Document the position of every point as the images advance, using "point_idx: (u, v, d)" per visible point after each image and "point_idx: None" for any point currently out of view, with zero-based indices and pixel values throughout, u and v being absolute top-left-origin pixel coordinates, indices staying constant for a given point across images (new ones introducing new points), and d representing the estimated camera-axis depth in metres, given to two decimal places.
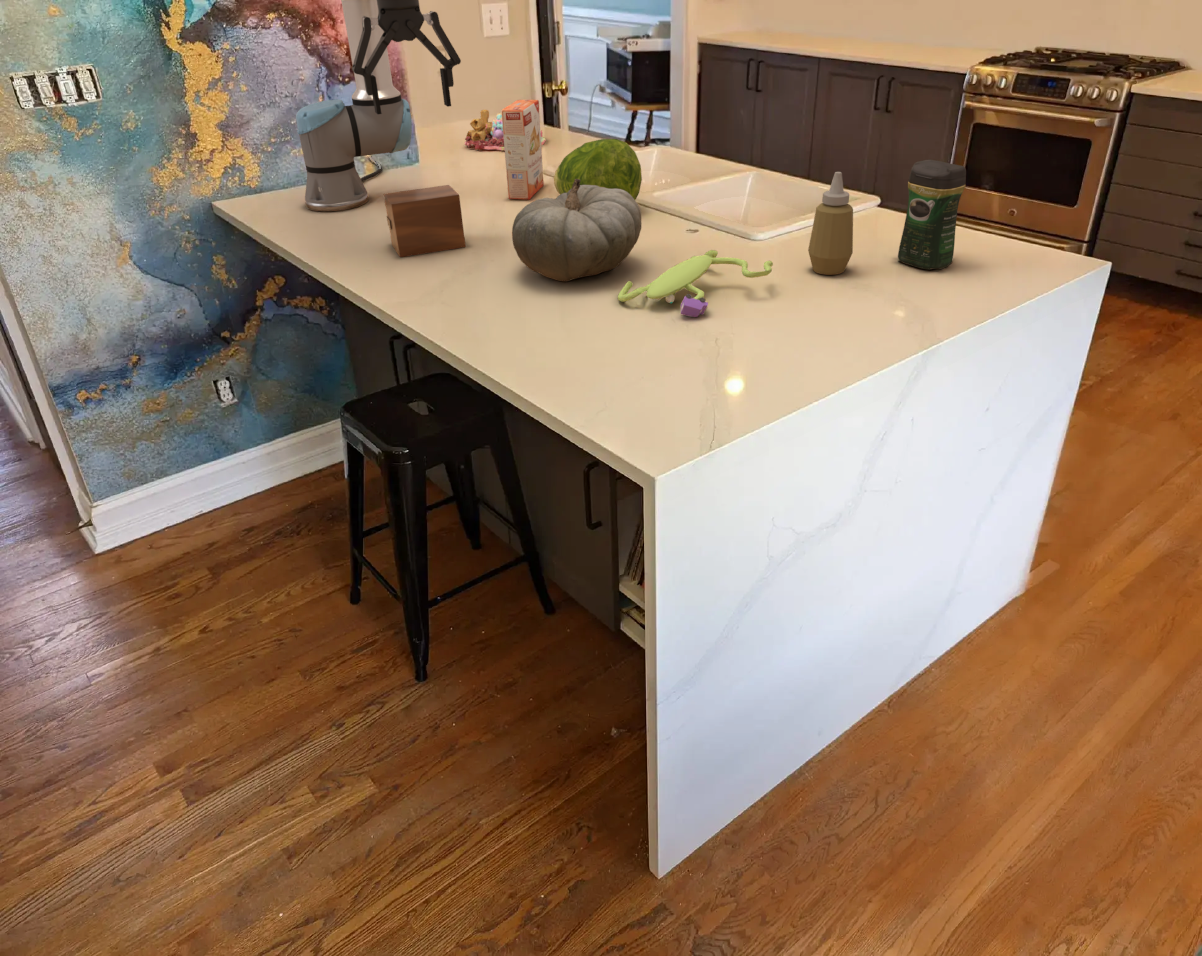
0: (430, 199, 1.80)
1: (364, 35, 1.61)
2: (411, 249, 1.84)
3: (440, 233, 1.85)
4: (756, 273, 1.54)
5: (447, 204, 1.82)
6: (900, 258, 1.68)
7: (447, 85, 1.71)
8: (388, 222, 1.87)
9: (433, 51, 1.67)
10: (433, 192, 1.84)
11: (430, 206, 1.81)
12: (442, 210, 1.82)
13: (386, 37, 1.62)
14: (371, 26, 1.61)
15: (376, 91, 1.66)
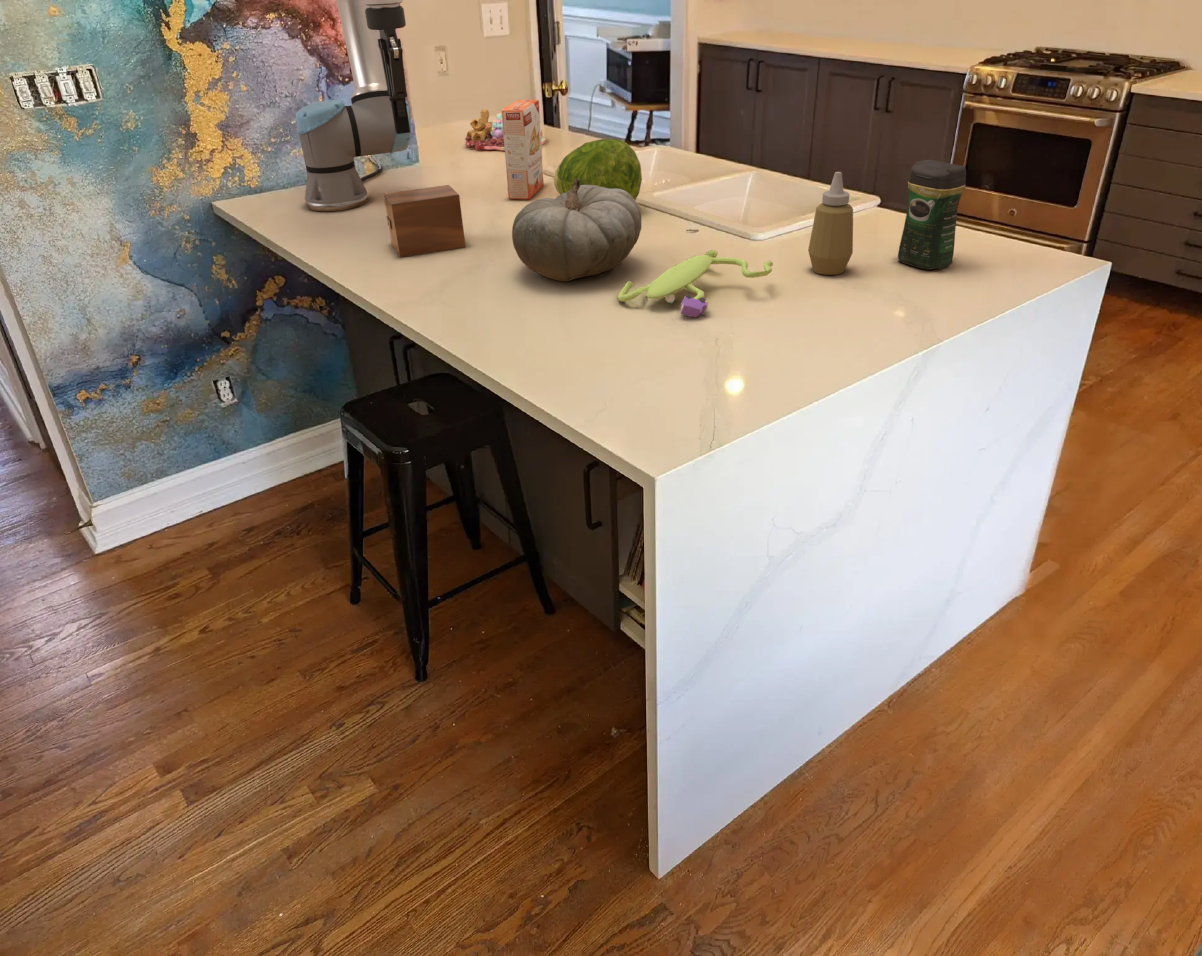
0: (430, 199, 1.80)
1: None
2: (411, 249, 1.84)
3: (440, 233, 1.85)
4: (756, 273, 1.54)
5: (447, 204, 1.82)
6: (900, 258, 1.68)
7: (394, 114, 1.83)
8: (388, 222, 1.87)
9: (389, 77, 1.79)
10: (433, 192, 1.84)
11: (430, 206, 1.81)
12: (442, 210, 1.82)
13: (381, 57, 1.79)
14: None
15: (392, 112, 1.84)
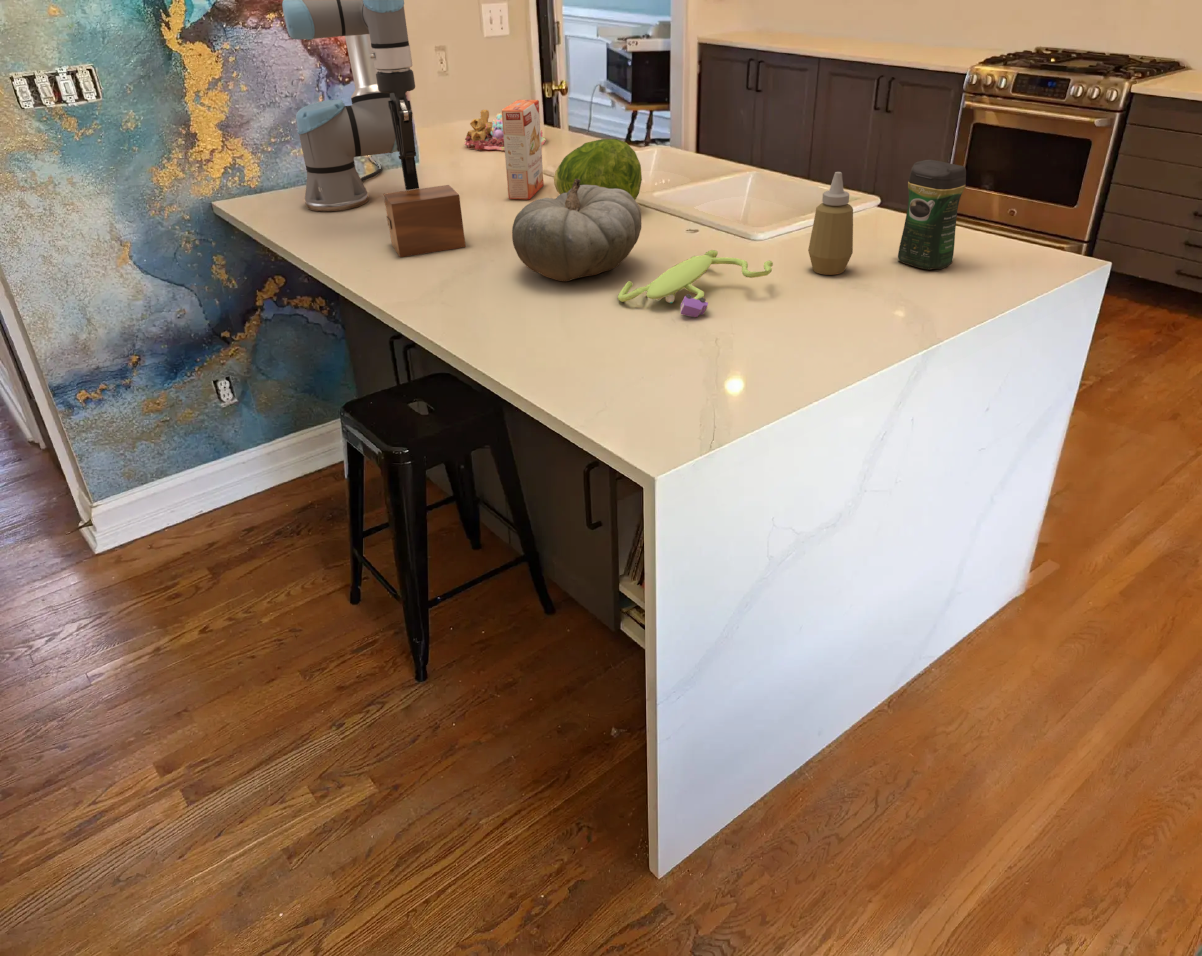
0: (430, 199, 1.80)
1: (391, 118, 1.88)
2: (411, 249, 1.84)
3: (440, 233, 1.85)
4: (756, 273, 1.54)
5: (447, 204, 1.82)
6: (900, 258, 1.68)
7: (403, 171, 1.89)
8: (388, 222, 1.87)
9: (399, 137, 1.85)
10: (433, 192, 1.84)
11: (430, 206, 1.81)
12: (442, 210, 1.82)
13: (391, 117, 1.85)
14: None
15: None
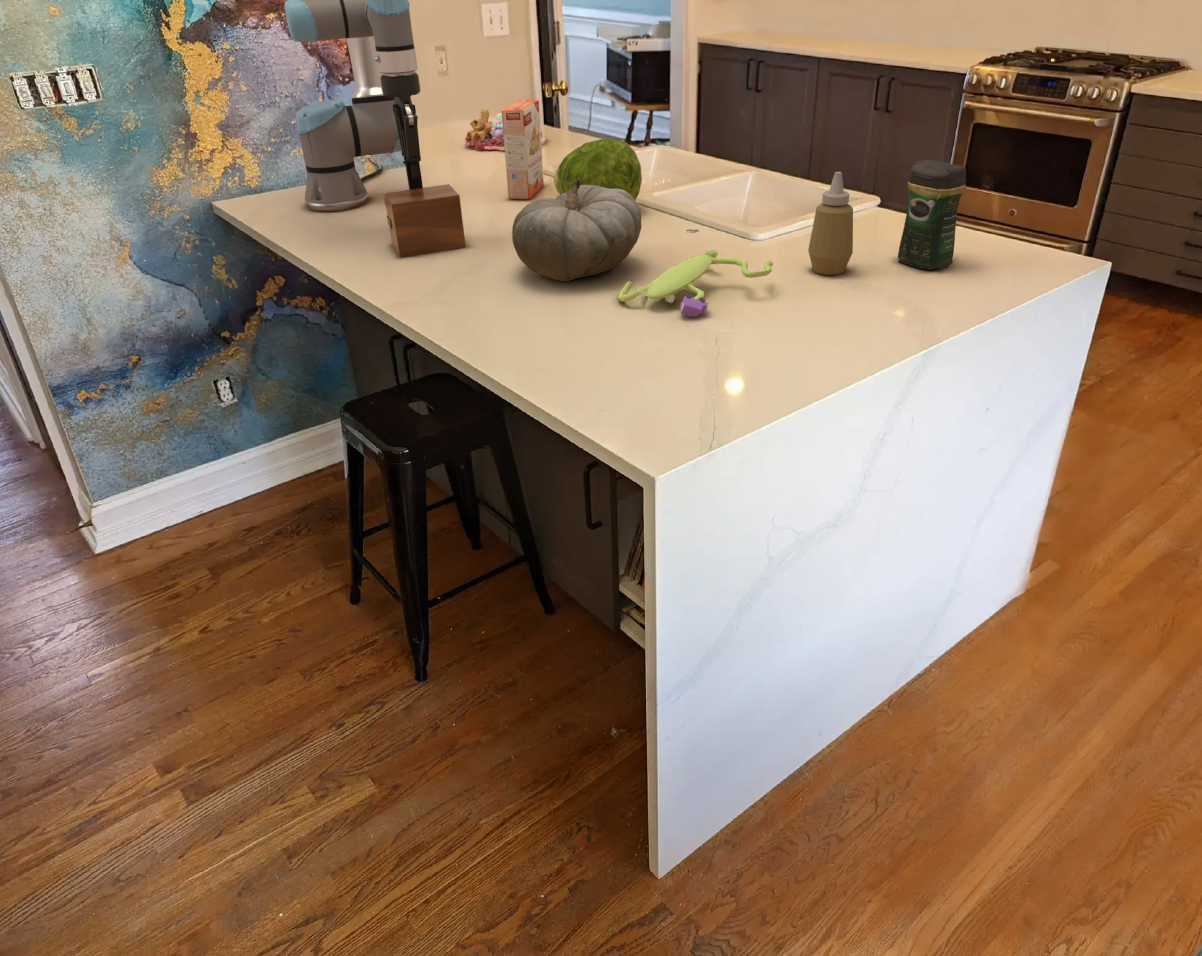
0: (430, 199, 1.80)
1: None
2: (411, 249, 1.84)
3: (440, 233, 1.85)
4: (756, 273, 1.54)
5: (447, 204, 1.82)
6: (900, 258, 1.68)
7: (408, 177, 1.85)
8: (388, 221, 1.86)
9: (403, 141, 1.81)
10: (433, 192, 1.84)
11: (430, 206, 1.81)
12: (442, 210, 1.82)
13: (396, 121, 1.81)
14: (394, 112, 1.83)
15: (407, 175, 1.86)
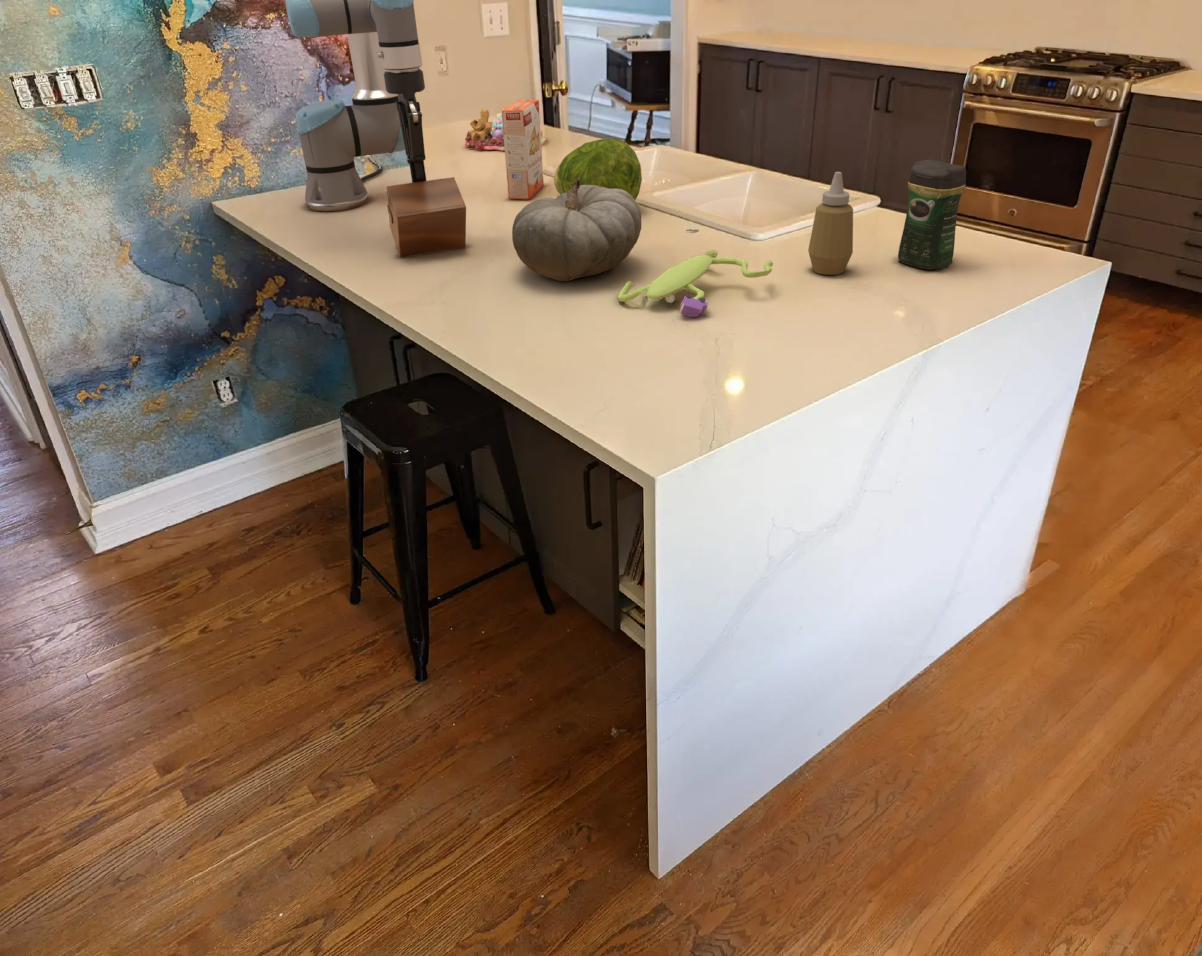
0: (436, 211, 1.77)
1: None
2: (412, 251, 1.84)
3: (442, 237, 1.83)
4: (756, 273, 1.54)
5: (453, 215, 1.79)
6: (900, 258, 1.68)
7: (412, 176, 1.81)
8: (389, 213, 1.82)
9: (408, 140, 1.76)
10: (439, 195, 1.79)
11: (436, 217, 1.78)
12: (447, 220, 1.80)
13: (400, 119, 1.76)
14: (398, 110, 1.78)
15: (411, 174, 1.81)
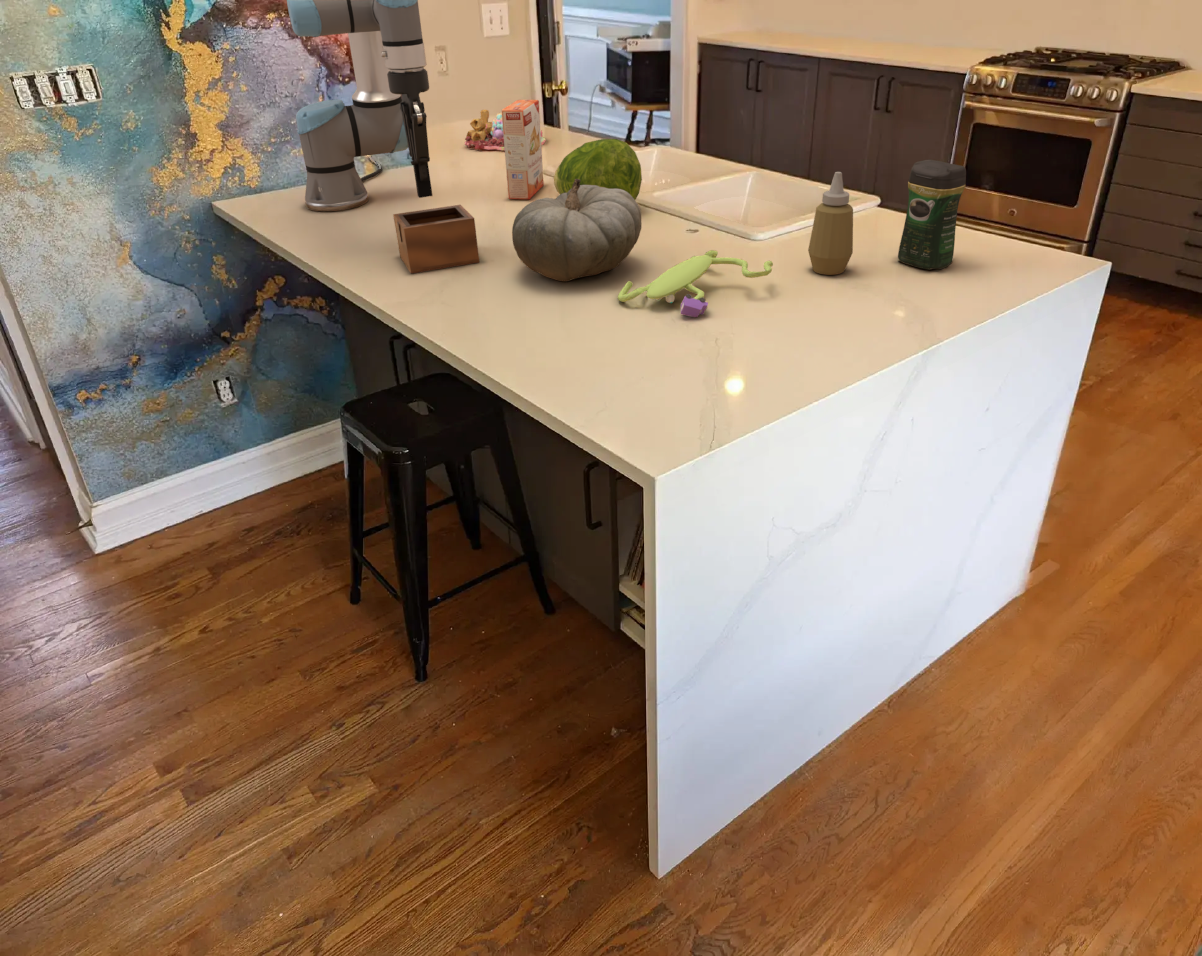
0: (450, 266, 1.78)
1: (403, 121, 1.76)
2: None
3: None
4: (756, 273, 1.54)
5: None
6: (900, 258, 1.68)
7: (416, 178, 1.77)
8: (398, 230, 1.76)
9: (411, 141, 1.73)
10: (455, 244, 1.76)
11: None
12: None
13: (403, 120, 1.73)
14: None
15: (415, 176, 1.77)
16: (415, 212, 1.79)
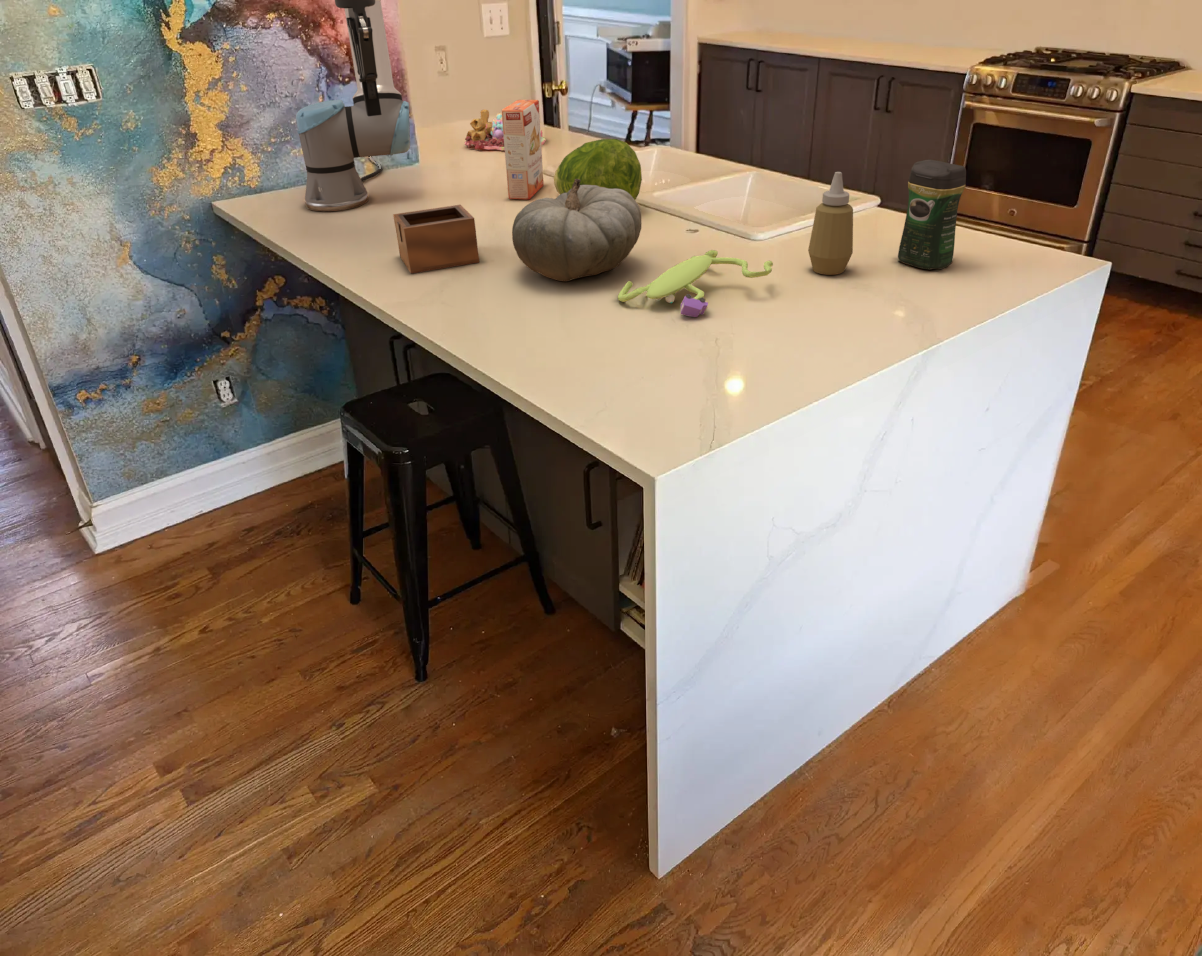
0: (450, 266, 1.78)
1: None
2: None
3: None
4: (756, 273, 1.54)
5: None
6: (900, 258, 1.68)
7: (364, 96, 1.78)
8: (398, 230, 1.76)
9: (359, 57, 1.73)
10: (455, 244, 1.76)
11: None
12: None
13: (350, 36, 1.73)
14: None
15: (363, 94, 1.78)
16: (415, 212, 1.79)
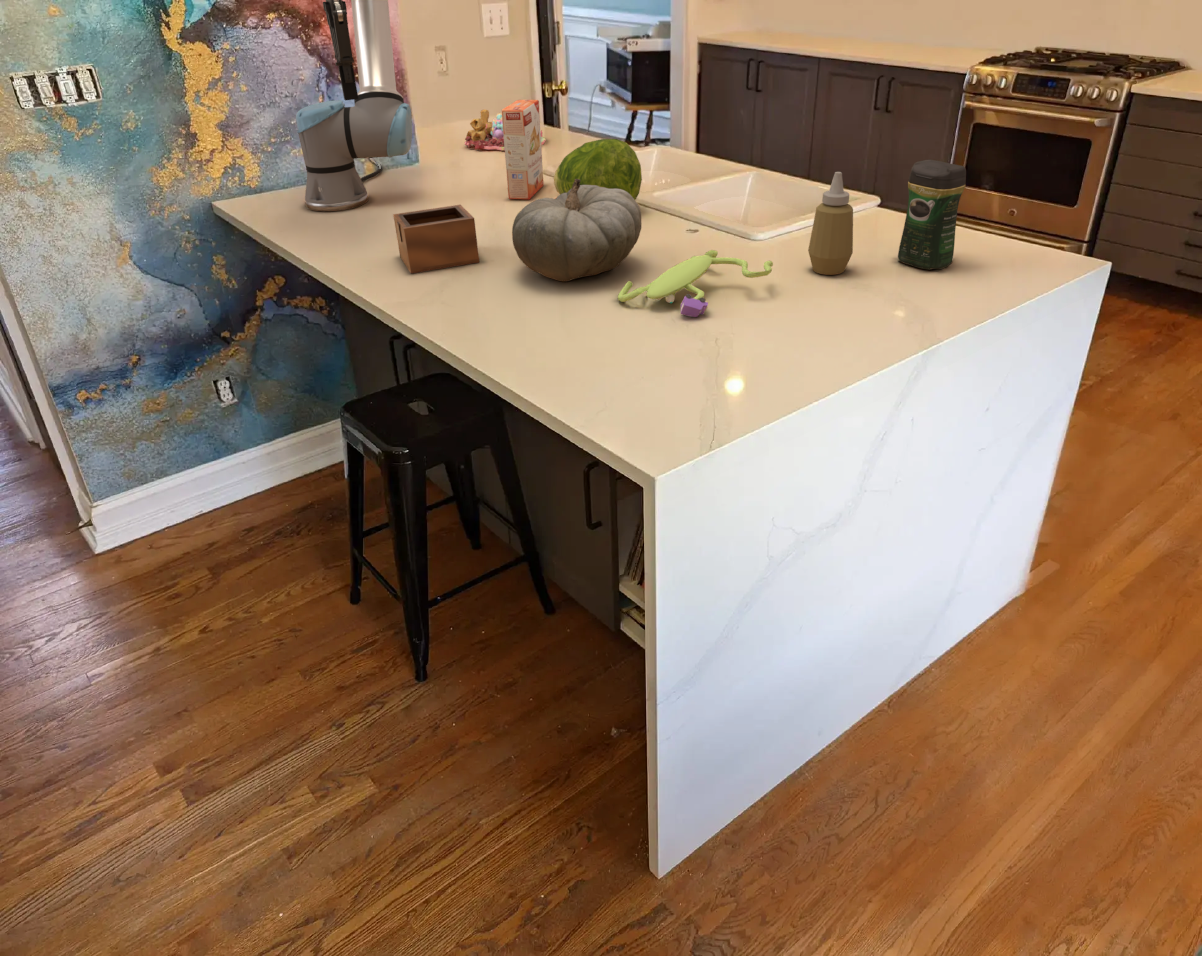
0: (450, 266, 1.78)
1: None
2: None
3: None
4: (756, 273, 1.54)
5: None
6: (900, 258, 1.68)
7: (341, 80, 1.80)
8: (398, 230, 1.76)
9: (335, 41, 1.75)
10: (455, 244, 1.76)
11: None
12: None
13: (327, 20, 1.75)
14: None
15: (340, 78, 1.80)
16: (415, 212, 1.79)
